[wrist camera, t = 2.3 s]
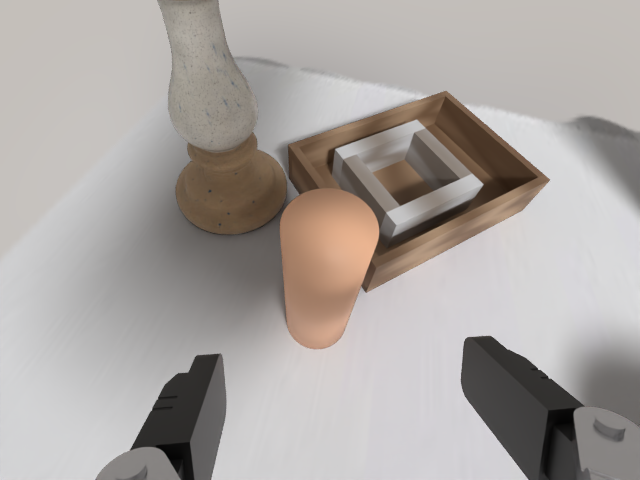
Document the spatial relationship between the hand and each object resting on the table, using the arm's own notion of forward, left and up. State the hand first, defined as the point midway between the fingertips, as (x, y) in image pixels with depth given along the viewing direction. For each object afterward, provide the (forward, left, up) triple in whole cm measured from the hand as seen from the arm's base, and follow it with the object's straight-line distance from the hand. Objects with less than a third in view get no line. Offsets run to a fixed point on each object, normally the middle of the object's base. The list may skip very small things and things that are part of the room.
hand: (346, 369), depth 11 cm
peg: (-2, -5, -11) cm, 12 cm away
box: (-14, -11, -11) cm, 21 cm away
